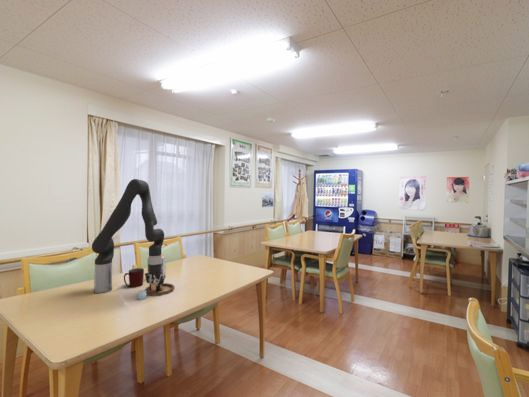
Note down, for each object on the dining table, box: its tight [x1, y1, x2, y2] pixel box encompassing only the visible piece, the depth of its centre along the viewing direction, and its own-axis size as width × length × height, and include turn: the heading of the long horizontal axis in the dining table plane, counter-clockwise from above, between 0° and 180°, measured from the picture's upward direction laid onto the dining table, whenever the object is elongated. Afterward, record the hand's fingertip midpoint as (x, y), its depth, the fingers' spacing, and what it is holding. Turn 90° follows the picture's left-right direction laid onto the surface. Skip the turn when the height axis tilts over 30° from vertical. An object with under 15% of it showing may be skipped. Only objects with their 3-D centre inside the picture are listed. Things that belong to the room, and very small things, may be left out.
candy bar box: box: [147, 256, 167, 280], centre depth 185 cm, size 11×5×16 cm, turn 84°
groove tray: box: [144, 282, 175, 297], centre depth 163 cm, size 16×16×3 cm
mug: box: [123, 267, 145, 289], centre depth 170 cm, size 12×9×11 cm
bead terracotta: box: [151, 282, 159, 292], centre depth 159 cm, size 4×4×5 cm
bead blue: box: [137, 289, 147, 301], centre depth 151 cm, size 4×4×5 cm
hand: (154, 290), depth 159 cm, fingers closed on bead terracotta, 4 cm apart
